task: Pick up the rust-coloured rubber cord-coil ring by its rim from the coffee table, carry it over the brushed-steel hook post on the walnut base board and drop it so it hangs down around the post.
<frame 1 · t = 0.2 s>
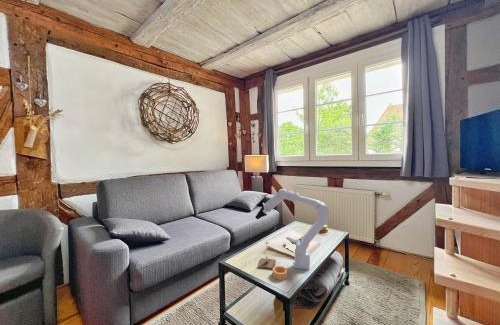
hand: (257, 216, 138), 31 cm above the table, tool tilted 45°, fingers open, 7 cm apart
walnut base board: (267, 264, 137), on the table
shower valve: (293, 247, 161), on the table
cord coil ring: (280, 275, 125), on the table
hook post: (267, 259, 137), on the walnut base board, point 3 cm above the table
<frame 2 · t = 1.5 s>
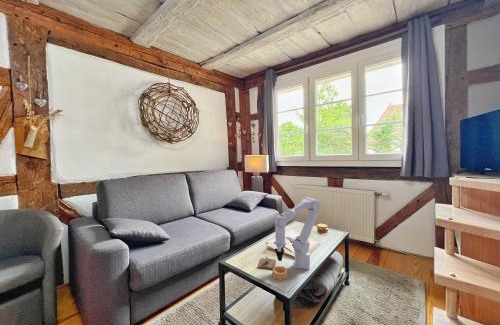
hand: (280, 257, 128), 9 cm above the table, tool pointing down, fingers open, 7 cm apart
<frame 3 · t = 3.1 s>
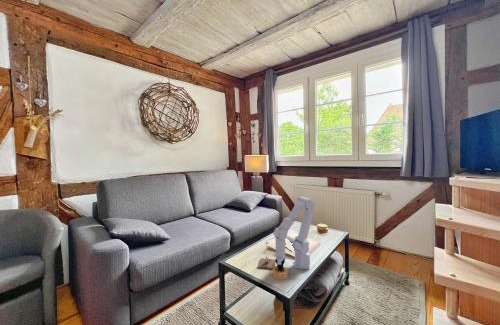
hand: (280, 269, 129), 1 cm above the table, tool pointing down, fingers closed on cord coil ring
cord coil ring: (280, 275, 125), on the table, touching gripper
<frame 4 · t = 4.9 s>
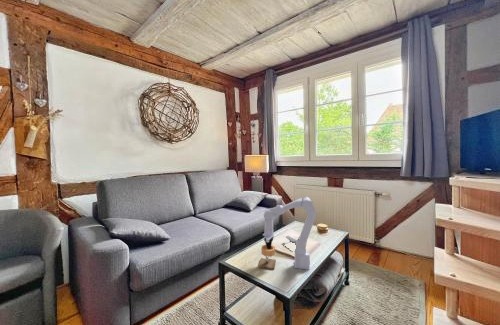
hand: (269, 248, 138), 10 cm above the table, tool pointing down, fingers closed on cord coil ring
cord coil ring: (268, 252, 135), point 8 cm above the table, touching gripper
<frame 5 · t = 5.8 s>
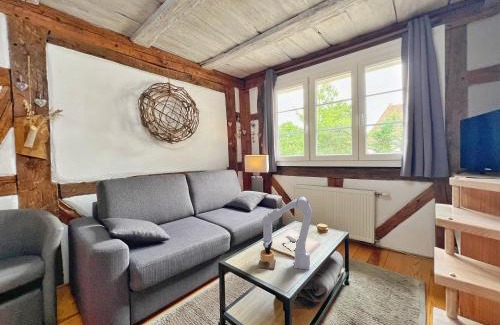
hand: (267, 252, 140), 6 cm above the table, tool pointing down, fingers closed on cord coil ring
cord coil ring: (267, 257, 137), point 5 cm above the table, touching gripper
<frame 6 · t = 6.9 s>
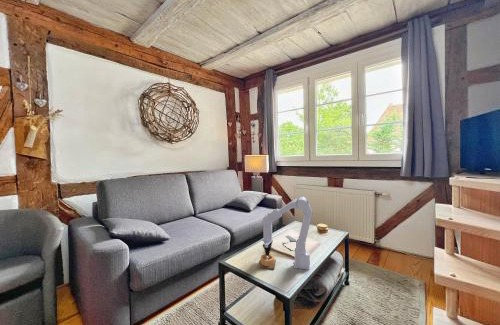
hand: (268, 253, 140), 6 cm above the table, tool pointing down, fingers open, 4 cm apart
cord coil ring: (267, 262, 137), point 1 cm above the table, touching walnut base board
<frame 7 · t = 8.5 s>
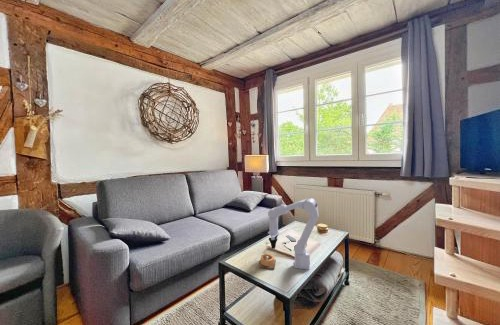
hand: (274, 245, 143), 9 cm above the table, tool pointing down, fingers open, 7 cm apart
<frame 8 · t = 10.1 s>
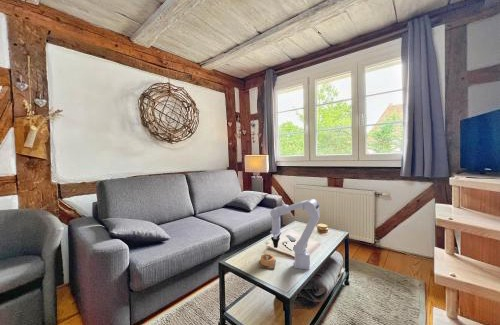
hand: (276, 244, 144), 9 cm above the table, tool pointing down, fingers open, 7 cm apart
at the end: cord coil ring 0.5 cm from the hook post (horizontally); cord coil ring point 1.2 cm above the table; the gripper is holding nothing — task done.
